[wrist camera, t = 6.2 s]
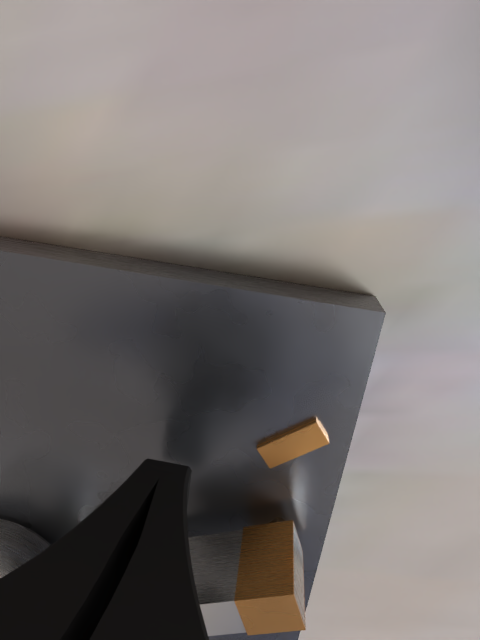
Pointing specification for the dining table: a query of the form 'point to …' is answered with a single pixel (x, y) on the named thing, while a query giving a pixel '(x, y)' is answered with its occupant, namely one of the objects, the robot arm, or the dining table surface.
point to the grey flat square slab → (176, 391)
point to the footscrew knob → (219, 575)
